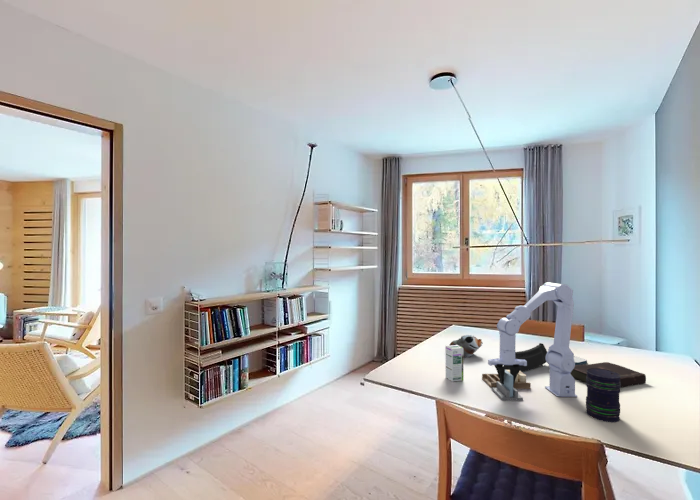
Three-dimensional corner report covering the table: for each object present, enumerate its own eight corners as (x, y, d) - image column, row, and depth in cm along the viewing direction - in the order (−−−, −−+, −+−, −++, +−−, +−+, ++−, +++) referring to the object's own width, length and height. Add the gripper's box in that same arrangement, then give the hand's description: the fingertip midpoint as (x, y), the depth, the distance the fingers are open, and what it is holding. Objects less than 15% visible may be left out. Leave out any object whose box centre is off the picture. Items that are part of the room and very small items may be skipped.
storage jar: (594, 421, 123) (594, 377, 123) (580, 408, 133) (580, 367, 132) (626, 423, 121) (627, 378, 121) (610, 410, 131) (611, 369, 131)
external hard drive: (532, 354, 201) (532, 350, 201) (546, 351, 206) (546, 348, 206) (575, 367, 180) (575, 363, 180) (589, 364, 185) (589, 360, 185)
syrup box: (452, 382, 157) (452, 348, 157) (444, 377, 163) (445, 344, 163) (463, 380, 159) (464, 347, 159) (456, 376, 165) (456, 344, 165)
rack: (530, 388, 150) (530, 383, 150) (491, 388, 151) (491, 382, 151) (518, 379, 161) (518, 373, 161) (482, 378, 162) (482, 373, 162)
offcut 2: (526, 385, 152) (526, 375, 152) (520, 385, 152) (520, 375, 152) (518, 379, 159) (518, 369, 159) (513, 378, 159) (513, 369, 159)
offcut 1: (517, 385, 152) (518, 375, 152) (512, 384, 152) (512, 375, 152) (510, 378, 159) (510, 369, 159) (505, 378, 160) (505, 369, 159)
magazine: (505, 356, 165) (544, 330, 178) (499, 354, 167) (538, 329, 181) (512, 391, 167) (550, 362, 181) (505, 388, 170) (543, 360, 184)
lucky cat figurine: (468, 350, 207) (480, 330, 202) (477, 364, 196) (489, 344, 191) (445, 343, 203) (456, 323, 198) (452, 358, 192) (464, 337, 188)
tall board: (513, 396, 140) (513, 375, 140) (509, 396, 140) (509, 375, 140) (504, 388, 148) (504, 368, 148) (500, 388, 148) (501, 368, 148)
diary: (646, 385, 157) (647, 374, 157) (605, 392, 149) (605, 380, 149) (603, 370, 175) (604, 360, 175) (564, 376, 167) (565, 365, 166)
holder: (523, 400, 139) (523, 391, 139) (501, 400, 139) (502, 391, 139) (511, 390, 149) (511, 381, 149) (491, 389, 149) (491, 381, 149)
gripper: (521, 346, 148) (520, 379, 148) (485, 346, 148) (484, 379, 148) (529, 351, 141) (529, 386, 141) (492, 351, 141) (491, 386, 141)
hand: (507, 383), depth 144 cm, fingers open, 3 cm apart
